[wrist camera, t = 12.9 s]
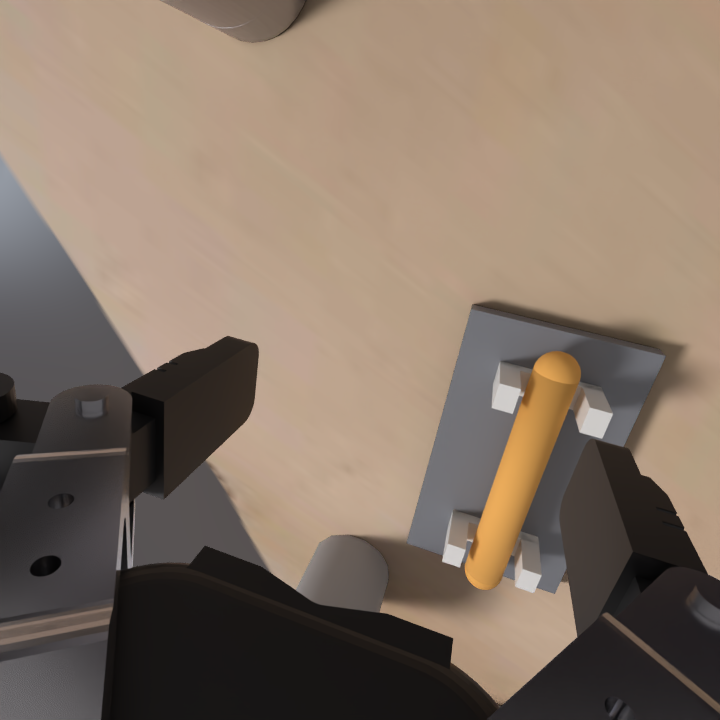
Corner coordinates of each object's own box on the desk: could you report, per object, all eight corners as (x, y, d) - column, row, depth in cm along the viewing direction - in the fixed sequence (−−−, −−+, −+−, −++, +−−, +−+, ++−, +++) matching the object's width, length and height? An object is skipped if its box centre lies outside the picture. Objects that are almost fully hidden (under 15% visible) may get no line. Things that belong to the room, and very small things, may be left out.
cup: (402, 589, 51) (380, 679, 42) (338, 603, 54) (305, 688, 45) (364, 526, 49) (332, 604, 40) (301, 544, 52) (258, 620, 43)
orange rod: (497, 576, 43) (495, 603, 41) (463, 563, 44) (458, 589, 41) (585, 351, 35) (590, 367, 32) (539, 340, 35) (541, 354, 32)
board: (409, 532, 48) (397, 578, 42) (472, 304, 38) (467, 325, 33) (553, 581, 45) (559, 636, 40) (659, 349, 36) (687, 380, 30)
